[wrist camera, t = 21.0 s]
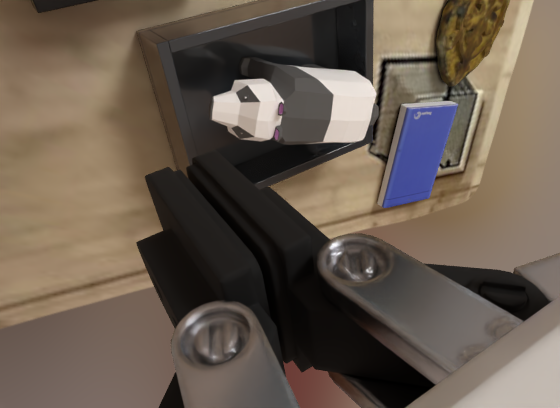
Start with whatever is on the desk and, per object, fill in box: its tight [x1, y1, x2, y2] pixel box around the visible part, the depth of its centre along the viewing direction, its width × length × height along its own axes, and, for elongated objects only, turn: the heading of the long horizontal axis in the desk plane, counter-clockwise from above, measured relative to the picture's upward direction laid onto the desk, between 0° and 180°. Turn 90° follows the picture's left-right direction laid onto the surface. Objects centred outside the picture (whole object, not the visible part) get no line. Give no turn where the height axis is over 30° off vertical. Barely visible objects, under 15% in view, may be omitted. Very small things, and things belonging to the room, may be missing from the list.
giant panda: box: [208, 57, 378, 145], centre depth 34 cm, size 15×6×10 cm, turn 79°
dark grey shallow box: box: [136, 0, 374, 190], centre depth 37 cm, size 18×14×5 cm
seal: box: [436, 0, 510, 86], centre depth 46 cm, size 9×5×15 cm
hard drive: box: [377, 101, 458, 208], centre depth 53 cm, size 2×8×12 cm
